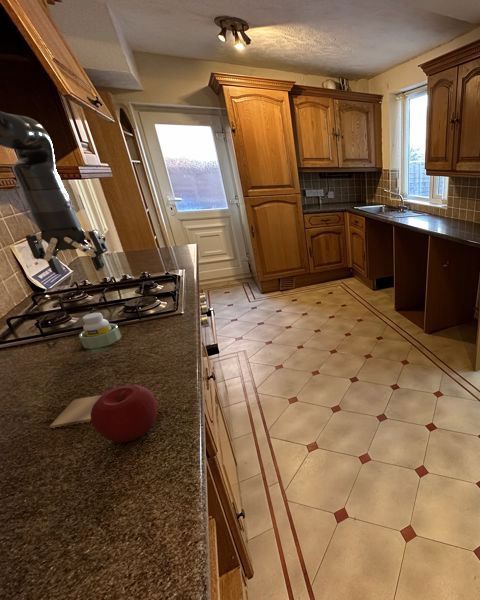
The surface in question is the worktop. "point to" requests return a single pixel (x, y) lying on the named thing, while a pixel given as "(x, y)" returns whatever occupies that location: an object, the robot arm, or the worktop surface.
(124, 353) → the worktop surface
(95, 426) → the apple
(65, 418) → the board
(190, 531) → the worktop surface
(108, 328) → the supplement bottle
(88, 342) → the bowl
